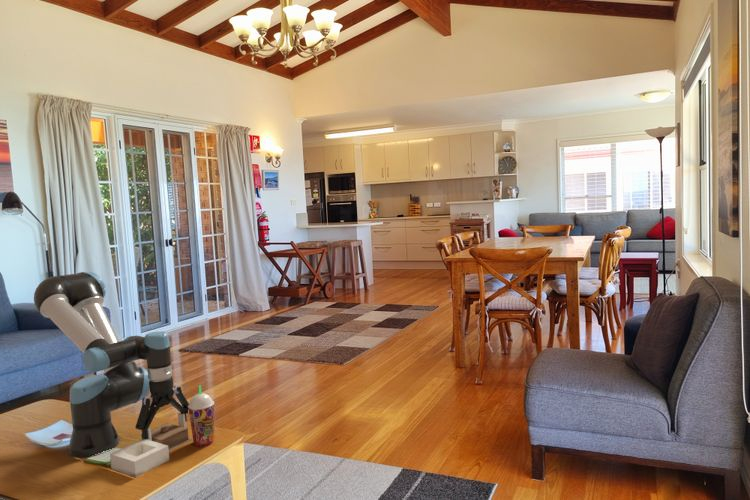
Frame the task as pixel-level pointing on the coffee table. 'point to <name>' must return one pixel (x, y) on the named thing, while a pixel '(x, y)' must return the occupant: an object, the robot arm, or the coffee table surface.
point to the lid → (169, 435)
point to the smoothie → (202, 418)
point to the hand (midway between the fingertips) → (166, 439)
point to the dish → (139, 457)
